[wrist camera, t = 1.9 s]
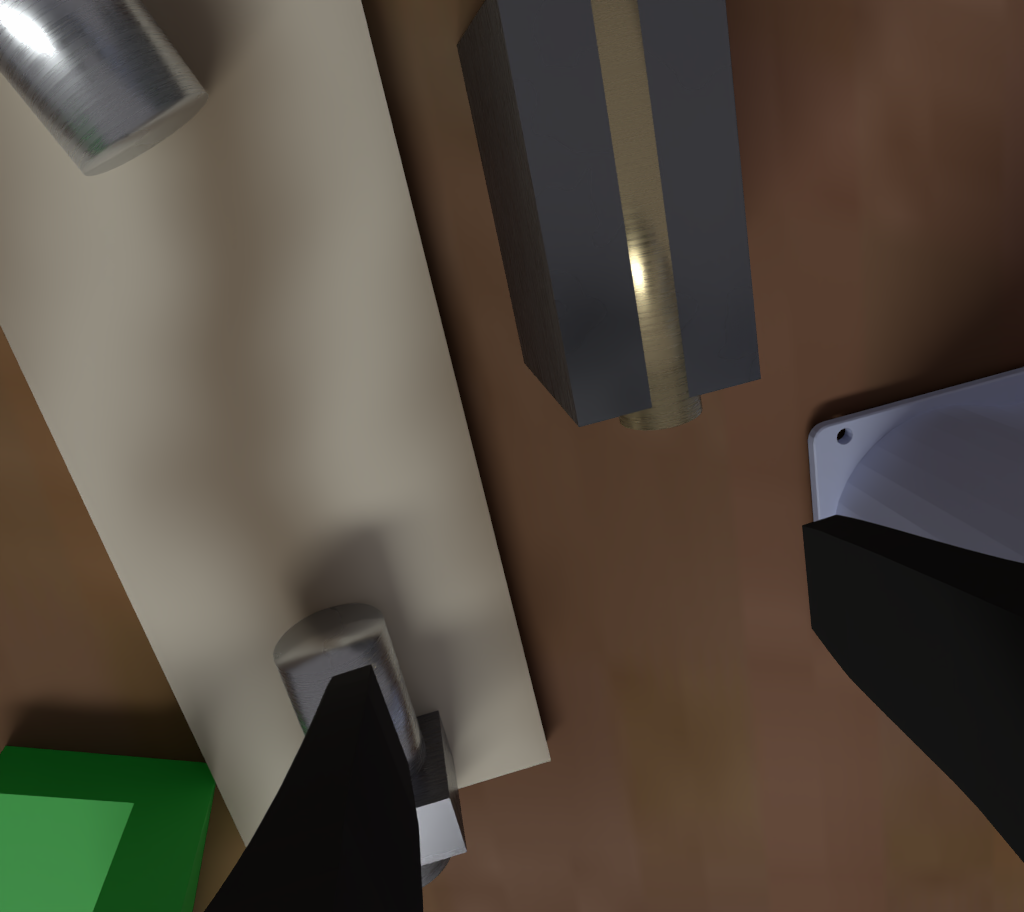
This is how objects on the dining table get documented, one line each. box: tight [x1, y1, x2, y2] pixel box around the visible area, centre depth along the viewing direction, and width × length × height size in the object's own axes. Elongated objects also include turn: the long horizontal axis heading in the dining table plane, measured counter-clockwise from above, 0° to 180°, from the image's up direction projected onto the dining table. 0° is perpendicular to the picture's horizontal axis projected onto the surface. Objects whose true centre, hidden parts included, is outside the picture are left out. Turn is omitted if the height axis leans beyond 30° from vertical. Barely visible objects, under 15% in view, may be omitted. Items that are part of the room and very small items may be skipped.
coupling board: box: [0, 0, 551, 847], centre depth 20 cm, size 10×28×1 cm, turn 12°
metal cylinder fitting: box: [273, 603, 467, 887], centre depth 21 cm, size 8×4×4 cm, turn 12°
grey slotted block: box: [457, 0, 761, 430], centre depth 17 cm, size 4×9×6 cm, turn 12°
